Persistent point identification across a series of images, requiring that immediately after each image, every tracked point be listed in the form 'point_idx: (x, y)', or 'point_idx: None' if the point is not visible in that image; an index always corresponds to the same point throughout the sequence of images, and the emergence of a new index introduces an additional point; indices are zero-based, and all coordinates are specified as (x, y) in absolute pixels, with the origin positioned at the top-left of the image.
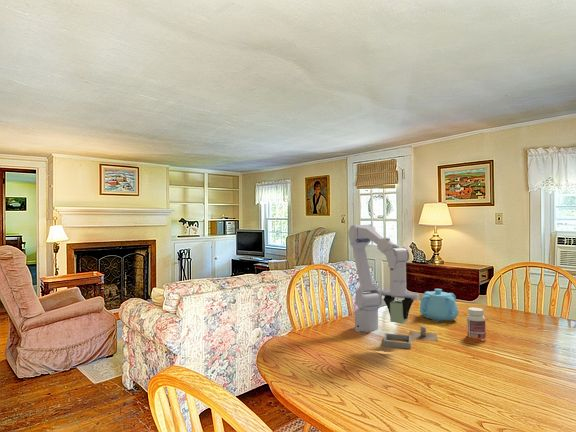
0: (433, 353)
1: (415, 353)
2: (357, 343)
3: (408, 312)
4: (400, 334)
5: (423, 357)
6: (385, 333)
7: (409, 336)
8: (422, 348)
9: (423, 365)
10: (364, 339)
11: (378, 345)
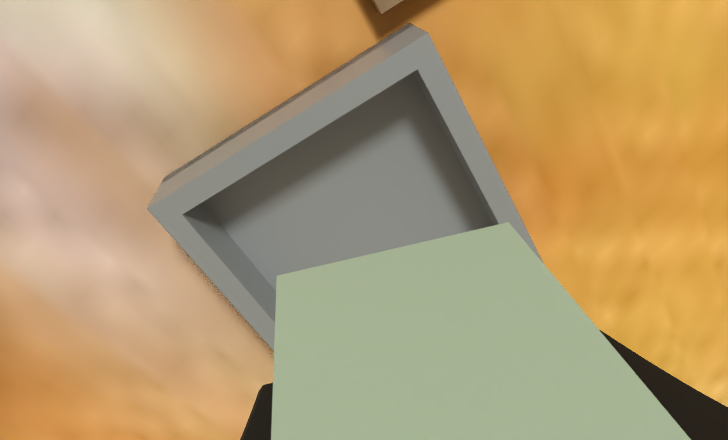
0: (700, 151)
1: (576, 261)
2: (92, 430)
3: (660, 380)
4: (309, 108)
5: (654, 283)
6: (159, 216)
7: (435, 92)
8: (581, 111)
9: (692, 387)
10: (28, 323)
11: (245, 341)
